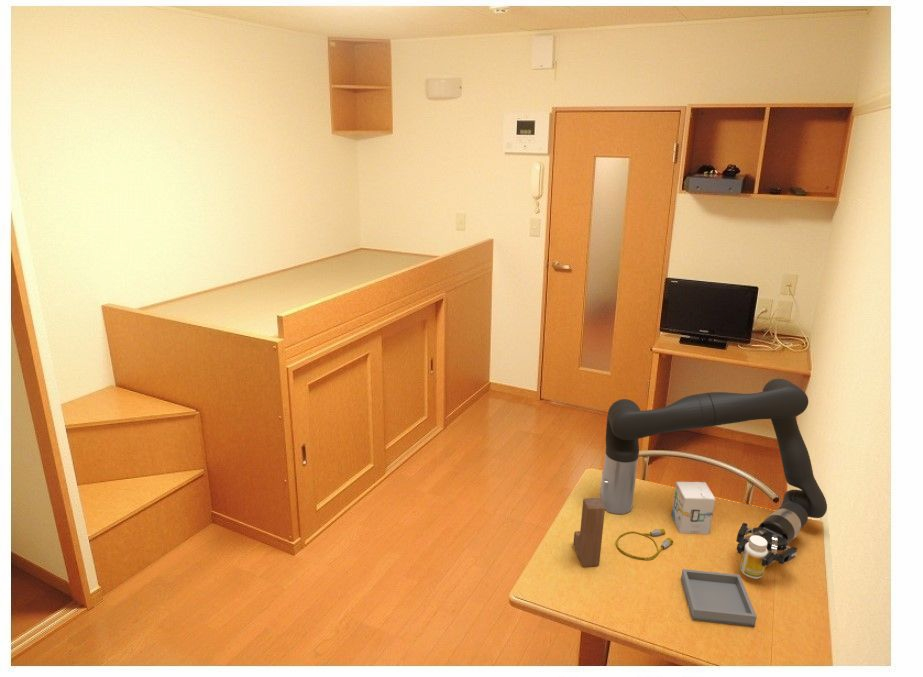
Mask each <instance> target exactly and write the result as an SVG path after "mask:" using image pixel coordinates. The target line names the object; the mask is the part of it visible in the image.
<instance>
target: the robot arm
mask: <svg viewBox="0 0 923 677" xmlns="http://www.w3.org/2000/svg"><path fill="white" fill-rule="evenodd" d="M808 405H809V397H808V394H807V393H806V392H805V391H804V390H803V389H802V388H801V387H799V386H798V385H797V384H794V383H793V382H791V381H790V380H787V379H784V378H773V379H771V380H769V381H767V383H766V384H765V385H764V386H763V389H762V391H760V392H759V391H758V392H754V393H737V392H725V391H723V392H722V391H714V392H713V391H711V392H703V393H695V394H691V395H687V396H685V397H682V398H680V399H678V400H676V401H674V402H673V403H671V404H669V405H667V406H664V407H661V408H655V409H647V410H641V409H640V408H641V407H639V404H637V403H636V402H635V401H633V400H630V399H627V398H623V399H618V400H615V402H613V403H612V405H610V406H609V408H608V412H607V416H606V417H607V418H606V426H605V429H606V430H605V454H604V463H603V471H602V472H601V482H600V492H599V494H600V495H599V498H600V499H601V501H602V503H603V504H604V506H605V512H606V511H607V512H609V513H611V514H616V515H625V514H629V513H630V512H631V511H632V509H633V504H634V496H635V487H636V478H637V472H638V465H639V464H638V462H639V455H640V442H639V440H640V439H643V438H648V437H651V436H655V435H660V434H664V433H671V432H679V431H684V430H685V431H686V430H691V429H701V428H702V429H703V428H710V427H717V426H723V425H729V424H736V423H737V424H738V423H743V422H747V421H758V420H770V421H771V424H772V425H773V426H772V427H773V430H774V434H775V437H776V440H777V444H778V449H779V454H780V459H781V463H782V468H783V469H782V470H783V473H784V478H785V482H786V483H787V484H788V485H790V486H792V487H794V488H797V489H789V490H787V491H785V493H784V495H783V498H782V501H781V506H779V507H778V508H777V509H776V510H775V511H772V513H771V514H769V516H768V517H766V518H765V519H764V520H763V521H762V522H760V523H759V525H758V526H756V527H754V528H752V527H750V526H748V523H747V522H742V524H741V526H740V527H739V530H738V532H737V534H736V535H737V536H736V542H737V546H736V551H737V554H740V555H741V554H743V551H744V547H745V544H746V543H748V542H749V539H750V537H751V536H753V535H757V536H761V537H763V538H764V539H766V541H767V550H768V554H767V555H766V556H765V557H764V558H763V560H762V566H764V567H765V568H766V567H769V566H770V565H771V564H772V563H775V562H777V563H778V564H779V565H784V564H786V563H788V562H790V561H791V560H793V559H794V558H796V555H797V551H798V548H797V547H795V546H789V544H790V543H791V541H792V540H794V539H795V538H796V537H797V535H798V534H799V533H800V530H801V529H802V528H803V527H804V526H805V525H806V523H807V522H808V519H809V518H813V519H820V518H822V517H824V516H825V515H826V513H827V511H828V504H827V500H826V497H825V495H824V493H823V491H822V490H821V487H820V486H819V483H818V482H817V480H816V478H815V476H814V470H813V465H812V461H811V458H810V453H809V451H808V448H807V445H806V444H805V441H804V438H803V436H802V433H801V431H800V427H799V424H798V421H797V420H798V419H797V416H800V415H801V414H803V413H804V412H805V411H806V410H807V408H808V407H809V406H808ZM778 551H779V552H780V551H782V552H780V553H778Z"/></svg>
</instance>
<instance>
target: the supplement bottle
mask: <svg viewBox="0 0 923 677" xmlns="http://www.w3.org/2000/svg"><path fill="white" fill-rule="evenodd" d="M768 553H769V551H768V550H767V541H766V539H764V538H763V537H761V536H757V535H753V536H751V537H750V539H749V542H748V543H746V544H745V547H744V551H743V552H742V557H741V561H740V566H739V569H740V571H741V573H742V574H743V575H745V576H746V577H748V578H751V579H760V578H762V577H763V576H764V573H765V572H764V571H765V570H766V569H765V568H766V566H765V567H764V566H762V560H763V558H764V557H765V556H766V555H767V554H768Z"/></svg>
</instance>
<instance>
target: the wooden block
mask: <svg viewBox="0 0 923 677" xmlns="http://www.w3.org/2000/svg"><path fill="white" fill-rule="evenodd" d="M581 509H582V510H581V519H580V529H579V531H578V530H576V531H574V532H573V547H574V550H575V552H576V555H577V557H578V559H579V561H580V564H581V566H582V567H583V568H588V567H590V568H591V567H599V566H600V559H601V553H602V551H601V550H602V542H603V541H602V540H603V533H604V532H603V531H604V522H605V512H606V510H605V506H604V504H603V503H602V501H601V499H600V497H584V498H583V499H582V508H581Z"/></svg>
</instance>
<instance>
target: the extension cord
mask: <svg viewBox="0 0 923 677" xmlns="http://www.w3.org/2000/svg"><path fill="white" fill-rule="evenodd" d="M629 534H635V535H636V534H637V535H641V536H644V537H645V538H649V539H650V540H652V541H653V543H654V545H655V547H656V550H657V551H656V552H655V554H653V555H651V556H648V557H644V556H637V555H633V554H631V553H628V552H625V551H624V550H623V549H621V547H619V543H618V542H619V539H620V538H622V537H625V536H626V535H629ZM665 534H666V530H665V528H657V529H653V530H652V531H650V532H649V533H645V532H638V531H632V530H631V531H627V532H624V533H621V534H620V535H619V536H618V537H617V538H616V540H615V546H616V547H617V550H618V551H619V552H620V553H621V554H622V555H625V556H627V558H628V557H629V558H631V559H636V560H640V561H653V560H655V559H656V558H657V557H658V555H659V553H660V552H661V551H662V550H666V549H667V548H669V547H671V545H673V544H674V540H673V539H672V537H667V538H666V539H665V540H663V542H662V543H661V544H660V548H659V546H658V544H657V542H656V540H654V538H652V537H660V536H662V535H665Z"/></svg>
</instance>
